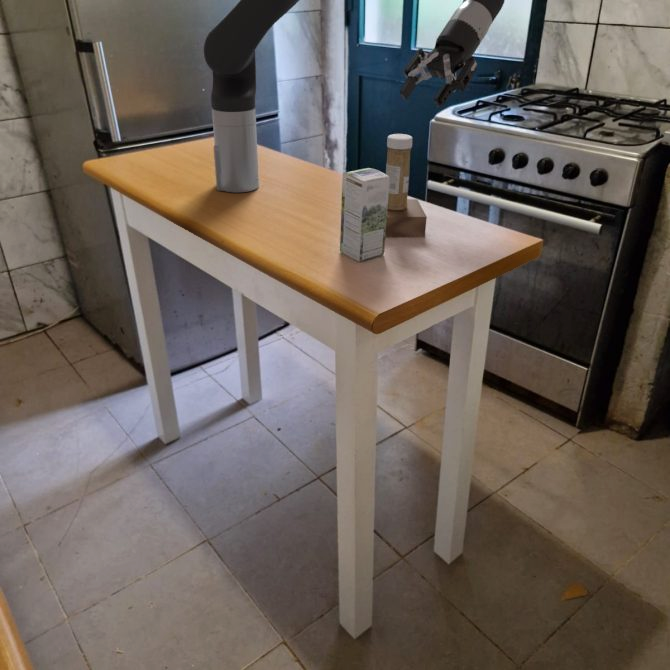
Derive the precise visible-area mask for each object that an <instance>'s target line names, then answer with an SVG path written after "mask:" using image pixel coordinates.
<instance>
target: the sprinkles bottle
mask: <svg viewBox="0 0 670 670" xmlns="http://www.w3.org/2000/svg"><path fill="white" fill-rule="evenodd" d="M386 141H387V142H386V146H387V154H386V155H387V156H386V157H387V158H386V163H385V164H386V165H385V167H386V168H385V174H386V175H388V176H389V177H390V181H389V194H388V208H387V209H389V210H394V211H398V210H404V209H406V208H407V199H408V193H409V192H408V191H409V183H410V167H411V166H410V164H411V163H410V162H411V161H410V160H411V150H412V147H413V136H411V135H409V134H406V133H405V134H404V133H393V134H389V135H388V136H387V140H386Z"/></svg>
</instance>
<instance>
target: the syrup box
mask: <svg viewBox="0 0 670 670" xmlns="http://www.w3.org/2000/svg"><path fill="white" fill-rule="evenodd" d="M341 180H342V181H341V182H342V184H341V205H340V206H341V210H340V211H341V212H340V237H339V238H340V240H339V245H340V246H339V252H340V253H341V254H343V255H345V256H347V257H349V258H350V259H353V260H355V261H357V262H359V263H360V262H364V261H365V262H366V261H368V260H371V259H374V258H378V257H381V256H384V254H385V245H386V237H385V233H386V220H387V208H388V194H389V181H390V177H389V176H388V175H386V173H385V172H382V171H380V170H379V169H375V168H370V167H367V168H361V169H356V170H352V171H347V172H346V171H345V172H343V173H342V179H341Z"/></svg>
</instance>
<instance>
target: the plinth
mask: <svg viewBox="0 0 670 670" xmlns="http://www.w3.org/2000/svg"><path fill="white" fill-rule="evenodd" d="M427 218H428V217H427V215H426V212H425V211H424V209H423V208H422V205H421V204H420V202H419V200H418V199H417V198H416V199H415V198H414V199H413V198H412V199H409V198H407V208H406V209H404V210H398V211H394V210H389V209H387V220H386V233H385V238H426V227H427Z"/></svg>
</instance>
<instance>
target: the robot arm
mask: <svg viewBox="0 0 670 670" xmlns="http://www.w3.org/2000/svg"><path fill="white" fill-rule="evenodd" d="M298 2H300V0H239V1H238V3H237V4H236V5H235V6H234V7H233V8H232V10H230V11H229V13H228V14H227V15H226V16H225V17H224V18H223V19H222V20H221V21H220V22H219V23H218V24H217V25H216V26H215V27H214V28H212V29H211V30H210V32H209V33H208V34H207V35H206V37H205V41H204V44H203V57H204V60H205V62H206V64H207V66H208V67H209V69H210V70H211V71H212V89H211V94H210V101H211V115H212V116H211V117H212V126H213V127H212V128H213V138H214V140H213V142H214V146H213V158H214V161H213V162H214V169H215V170H214V173H215V184H216V191H222V192H227V193H245V192H246V193H247V192H252V191H255V190H257V189H258V188H259V187H260V183H259V179H260V178H259V161H258V159H259V158H258V139H257V138H258V136H257V133H258V132H257V117H256V113H257V111H256V93H257V75H256V74H257V71H256V70H257V69H256V68H257V65H256V49H257V47H258V46H259V45H260V43H261V41H262V40H263V38H264V37H265V36H266V35H267V33H268V32H269V31H270V29H271V28H272V27H273V26H274V25H275V24H276V23H277V22H278V21H279V20H280V19H281V18H282V17H284V16H285V14H287V13H288V12H289V11H290V10H291V9H292V8H294V7H295V6H296V5H297V3H298ZM504 3H505V0H463V1H462V3H461V4H460V5H459V6H458V8H457V9H456V10H455V11H454V12H453V14H452V15H451V17H450V18H449V20H448V22H447V23H446V25H444V28H443V29H442V31H441V32H440V33H439V35H438V36H437V38H436V41H435V45H434V48H433V49H432V50H431V51H429V52H425V51H424V49H423V48H421V47H420V48H418V49H417V51H416V52H415V53H414V55H413V56H412V57H411V59H410V60H409V62H408V63H407V64H406V66H405V67H404V69H403V70H402V72H403V74H404V76H405V77H406V80H405V82H404V83H403V85H402V86H401V88H400V90H399V93H400V94H399V95H400V96H401V97H402V99H403V100H409V98H410V96H411V94H412V93H413V92H414V90H415V88H416V87H417V85H418V84H420V83H421V82H422V81H427V80H429V79H431V78H438V79H441V80H445V83H443V84H442V86H441V88H440V89H439V90H438V92H437V93H436V95H435V96H434V97H433V102H434V104H435V106H436V107H437V108H441V107H442V106H443V105H445V104H446V103H447V102H448V99H449V98H450V97H451V96H452V94H453V93H455V92H456V91H460V92H464V91H466V89H467V88H468V85H469V84H470V83H471V81H472V79H473V77H474V75H475V74H476V72H477V70H478V69H479V65H478V63H477V61H476V59H475V56H473V55H474V53H476V51H477V49H478V48H479V46H480V44H481V43H482V41H483V40H484V38H486V35H487V34H488V32H489V30H490V27H491V26H492V24H493V22H494V21H495V20H496V18H497V16H498V15H499V13H500V12H501V10H502V9H503V7H504ZM425 69H427V71H425ZM459 71H460V72H459ZM457 72H459V74H458V75H457ZM417 75H418V76H417Z"/></svg>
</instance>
